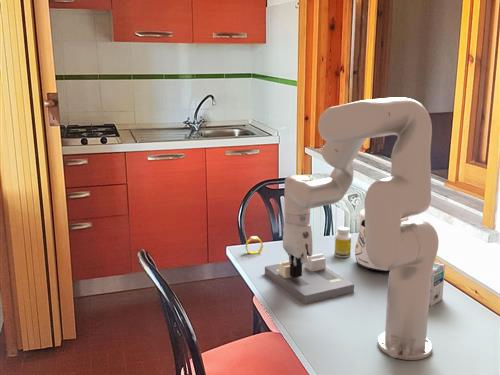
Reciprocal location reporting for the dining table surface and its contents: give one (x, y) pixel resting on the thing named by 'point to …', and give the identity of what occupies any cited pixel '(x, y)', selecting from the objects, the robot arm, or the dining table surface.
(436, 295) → the light bulb box
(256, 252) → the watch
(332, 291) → the switch panel
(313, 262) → the ridged white block
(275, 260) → the dining table surface
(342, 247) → the supplement bottle
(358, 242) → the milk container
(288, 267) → the cream tab
